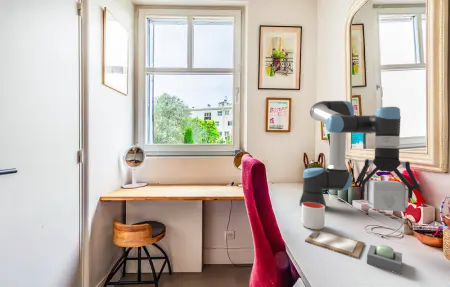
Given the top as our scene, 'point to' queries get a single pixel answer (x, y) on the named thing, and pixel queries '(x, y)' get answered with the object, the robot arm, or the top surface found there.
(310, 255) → the top surface
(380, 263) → the button box
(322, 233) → the clipboard
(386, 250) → the button
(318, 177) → the robot arm
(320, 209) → the cup
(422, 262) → the top surface
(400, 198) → the skincare box
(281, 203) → the top surface
